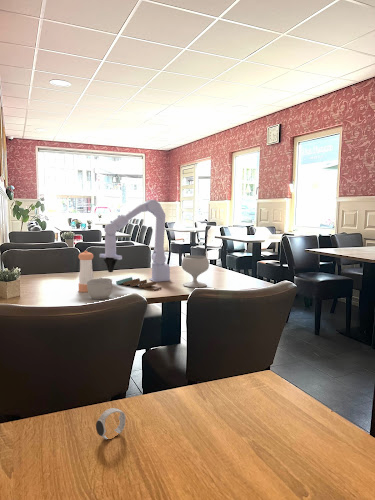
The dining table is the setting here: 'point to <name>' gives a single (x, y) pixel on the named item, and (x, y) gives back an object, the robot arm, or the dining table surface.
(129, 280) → the domino
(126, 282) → the domino
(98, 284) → the teacup
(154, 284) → the domino
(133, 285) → the brown wooden block
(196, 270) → the chalice
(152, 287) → the domino
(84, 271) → the salt shaker
